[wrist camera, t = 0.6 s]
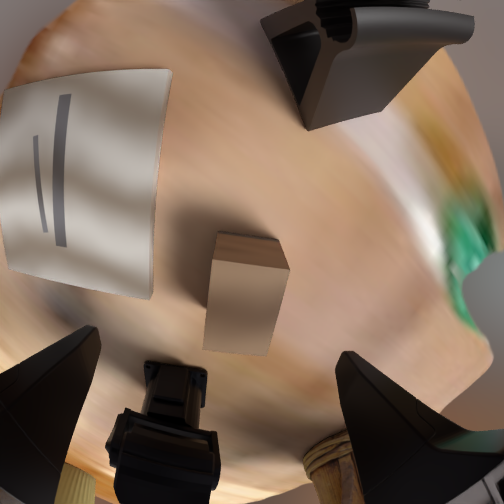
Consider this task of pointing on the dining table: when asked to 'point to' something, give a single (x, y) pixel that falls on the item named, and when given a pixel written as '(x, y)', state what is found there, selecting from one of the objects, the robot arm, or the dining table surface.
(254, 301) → the block
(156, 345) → the dining table surface
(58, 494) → the potted cactus
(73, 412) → the robot arm
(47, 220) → the board
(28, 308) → the dining table surface
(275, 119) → the dining table surface
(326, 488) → the tankard
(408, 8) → the phone stand
